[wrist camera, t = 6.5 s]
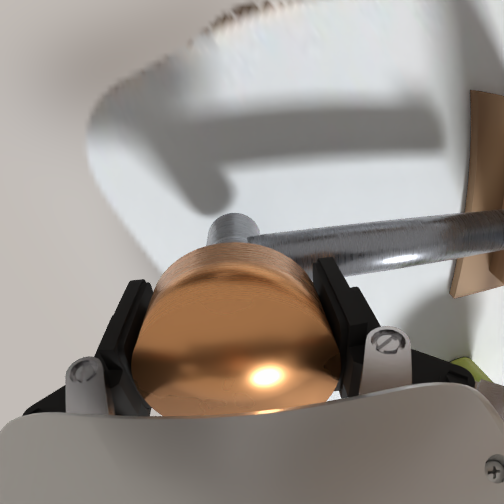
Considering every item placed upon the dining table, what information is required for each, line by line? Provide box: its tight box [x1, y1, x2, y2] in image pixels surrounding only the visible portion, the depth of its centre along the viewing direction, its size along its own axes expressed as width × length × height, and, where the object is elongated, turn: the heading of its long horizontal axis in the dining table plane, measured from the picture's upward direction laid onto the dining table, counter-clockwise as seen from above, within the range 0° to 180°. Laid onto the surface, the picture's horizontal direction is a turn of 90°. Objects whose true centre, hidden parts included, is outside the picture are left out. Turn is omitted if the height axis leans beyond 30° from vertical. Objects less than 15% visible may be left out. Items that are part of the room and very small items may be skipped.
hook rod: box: [131, 209, 504, 416], centre depth 13 cm, size 19×6×10 cm, turn 96°
